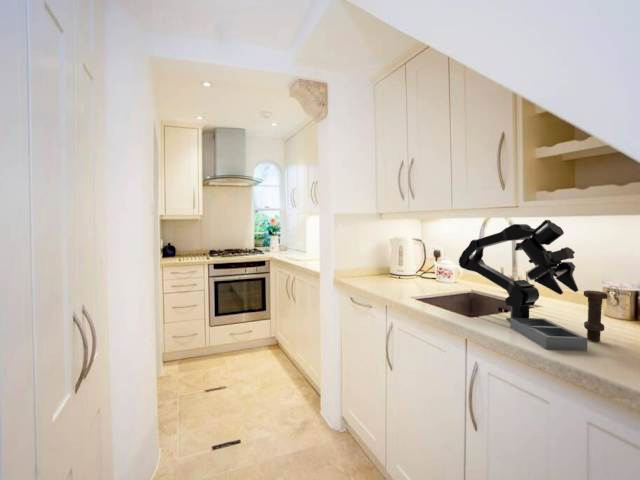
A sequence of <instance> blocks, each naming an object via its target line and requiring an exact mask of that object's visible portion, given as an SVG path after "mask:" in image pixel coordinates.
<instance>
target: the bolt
mask: <svg viewBox="0 0 640 480" xmlns="http://www.w3.org/2000/svg"><path fill="white" fill-rule="evenodd" d="M583 296H584V297H585V298H587V321H584V322H583V326H584V329H586V332H587V333H586V338H588V341H590V342H592V343H596V342H597V343H600V342H601V332H603V331H605V324H603V323H602V309H603V308H602V307H603V300H608V293H607V292H604V291H600V290H599V291H598V290H589V289H588V290H584V291H583Z"/></svg>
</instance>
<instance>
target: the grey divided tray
mask: <svg viewBox="0 0 640 480" xmlns="http://www.w3.org/2000/svg"><path fill="white" fill-rule="evenodd" d="M510 318H511V317H510ZM510 328H511V329H512V330H514V331H515V332H517V333H518V334H520V335H522V336H523V337H525V338H527V339H528V340H530V341H532V342H534V343H535V344H536V345H538V346H540V347H541V348H543V349H545V350H554V351H558V350H559V351H578V352H579V351H582V352H587V351H588V342H589V340H588V338H587V336H586V337H585V336H583V335H581V334H579V333H576V332H574V331H573V330H570V329H568V328H566V327H563V326H562V325H559V324H557V323H555V322H552V321H551V320H549V319H547V318H545V317H544V318H543V317H542V318H541V317H540V318H538V317H529V318H511V322H510Z"/></svg>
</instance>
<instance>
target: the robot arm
mask: <svg viewBox="0 0 640 480" xmlns="http://www.w3.org/2000/svg"><path fill="white" fill-rule="evenodd" d="M564 234H565V232H564V230H563V229H562V227H561V226H559V225H557V224H556V223H555V222H552V221H551V220H550V219H544V221H543V222H541V223H540V224H539V225H538V226H537V227H536V228H532V227H531V226H530V225H529V224H527V223H513V224H510V225H509V226H507V227H504V228H503V230H501V231H499V232H496V233H492V234H489V235H486V236H483V237H479V238H477V239H472V240H471V241H470V242H469V243H468V244H469V245H467V247H466V248H465V249H464V250H463V251H462V253H461V255H460V256H459V259H458V265H459V267H460V268H462V269H463V270H466V271H470V272H474V273H477V274H479V275H481V276H482V277H484V278H485V279H487V280H488V281H491V282H492V283H494V284H495V285H496V286H498V287H500V288H501V289H503V290H505V291H506V292H507V294H508V296H507V297H506V298H505V299H504V301H505V304H506V306H508V307H509V306H510V317H506V320H507V321H508V322H510V323H511V318H530V306H535V303H536V301H538V300H539V298H540V292H539V289H538V288H537V287H536V286H535V284H532V283H530V282H529V281H528V280H526V279H519V280H514V279H512V278H511V277H509V276H508V275H505V274H504V273H502V272H500V271H499V270H497V269H495V268H493V267H491V266H489V265H487V264H486V263H485V261H484V260H483V256H484V249H485V248H487V247H491V246H495V245H499V244H502V243H506V242H514V241H515V248H514V251H523V252H524V253H525V255H526V256H527V257H528V259H529V260H528V262H529V263H530V264H533V265H534V267H533V268H530V269H529V270H528V271H527V273H526V276H527V277H528V278H529V280H530V281H533V282H534V283H537V284H539V285H541V286H543V287H545V288H547V289H548V290H550V291H553V292H555V293H556V294H558V295H562V294H564V292H563V290H562V288H561V286H560V285H559V283H558V282H560V283H562V284H563V285H564V286H565V287H567V288H568V289H570V290H571V291H573V292H574V293H577V292H578V291H579V288H578V286H577V283H576V281H575V278H574V276H573V274H574V272H575V268H576V267H577V266H576V265H575V264H574V263H573V262H571V261H565V260H569V259H571V260H572V259H575V256H574V255H575V253H576V252H575V251H574V250H573V248H570V247H568V246H565V247H562V248H561V249H559V250H556V251H553V250H547V249H546V248H545V246H549V245H551V244H552V243H553V242H555V241H557V240H558V239H559V238H561V237H562V236H564ZM516 241H521V242H516ZM544 245H545V246H544ZM557 281H558V282H557Z"/></svg>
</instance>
